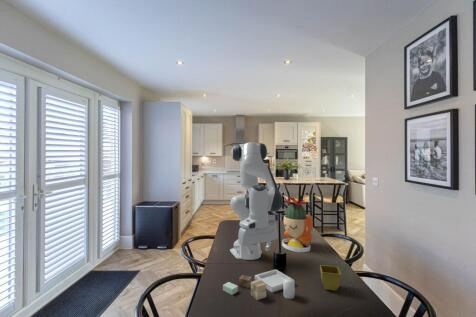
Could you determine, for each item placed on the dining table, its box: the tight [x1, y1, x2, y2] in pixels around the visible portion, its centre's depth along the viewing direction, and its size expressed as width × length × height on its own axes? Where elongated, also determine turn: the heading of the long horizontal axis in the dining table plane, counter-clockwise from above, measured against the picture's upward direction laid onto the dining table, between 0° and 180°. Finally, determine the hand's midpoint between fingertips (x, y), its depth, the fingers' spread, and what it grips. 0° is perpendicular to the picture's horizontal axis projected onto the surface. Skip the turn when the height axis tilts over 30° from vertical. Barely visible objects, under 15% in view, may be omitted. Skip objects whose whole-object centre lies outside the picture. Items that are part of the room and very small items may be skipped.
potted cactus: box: [281, 196, 314, 253], centre depth 177 cm, size 22×22×35 cm
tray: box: [254, 269, 291, 293], centre depth 126 cm, size 14×14×2 cm
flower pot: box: [319, 264, 342, 292], centre depth 121 cm, size 9×9×9 cm
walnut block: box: [238, 274, 252, 289], centre depth 123 cm, size 5×4×4 cm
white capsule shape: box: [282, 277, 296, 300], centre depth 114 cm, size 5×5×7 cm
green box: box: [222, 281, 239, 296], centre depth 117 cm, size 6×4×3 cm, turn 49°
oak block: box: [250, 279, 267, 301], centre depth 114 cm, size 5×5×6 cm
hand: (258, 252), depth 114 cm, fingers open, 8 cm apart
